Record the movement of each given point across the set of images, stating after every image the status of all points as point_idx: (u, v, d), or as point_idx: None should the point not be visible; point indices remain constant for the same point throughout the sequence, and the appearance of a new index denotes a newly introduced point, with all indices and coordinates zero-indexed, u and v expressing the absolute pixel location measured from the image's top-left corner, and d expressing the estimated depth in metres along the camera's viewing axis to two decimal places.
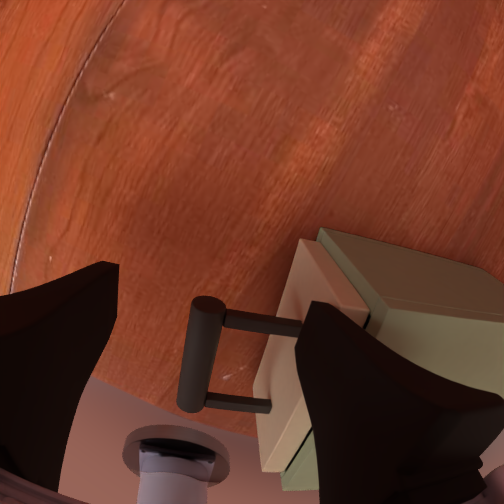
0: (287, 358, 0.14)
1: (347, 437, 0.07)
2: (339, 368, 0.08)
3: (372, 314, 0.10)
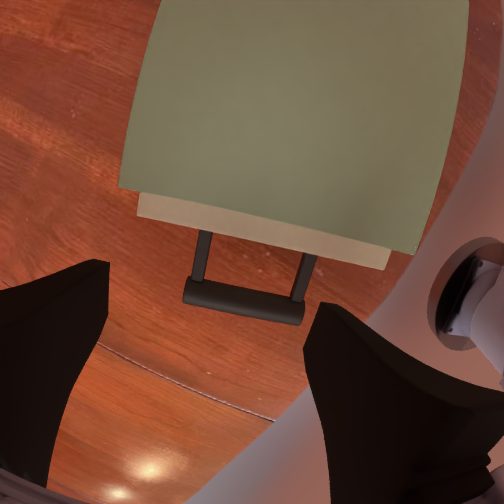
0: None
1: (359, 436, 0.07)
2: (350, 369, 0.08)
3: None
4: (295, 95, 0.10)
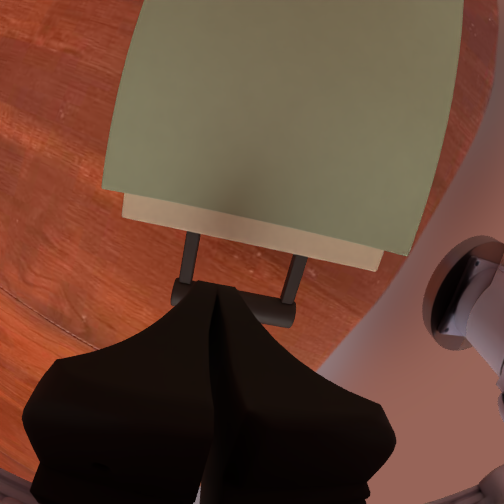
0: None
1: None
2: (218, 355, 0.07)
3: None
4: (282, 91, 0.09)
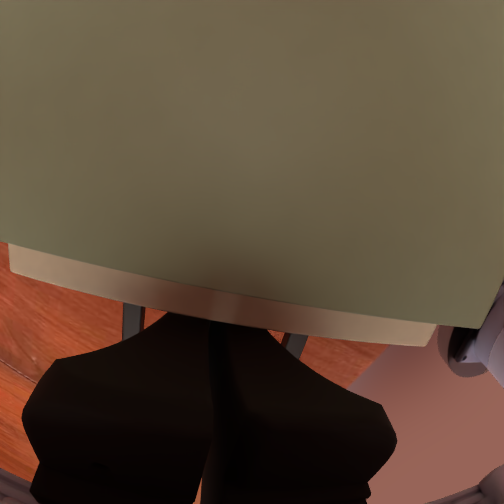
0: None
1: (213, 431, 0.06)
2: (219, 355, 0.07)
3: None
4: (280, 20, 0.04)
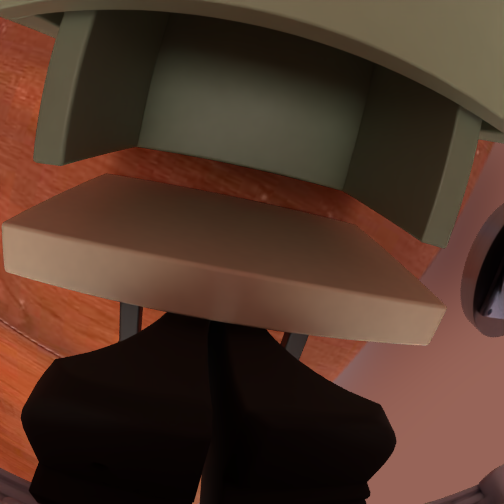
0: None
1: (212, 431, 0.06)
2: (218, 355, 0.07)
3: (29, 15, 0.04)
4: None
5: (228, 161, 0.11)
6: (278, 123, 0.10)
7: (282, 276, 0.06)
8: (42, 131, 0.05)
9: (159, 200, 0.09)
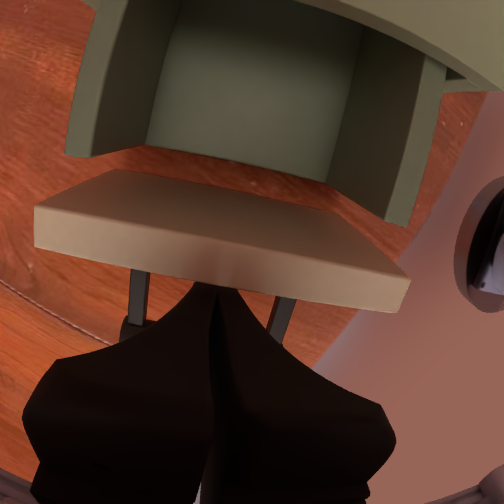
0: None
1: None
2: (218, 355, 0.07)
3: None
4: None
5: (224, 158, 0.12)
6: (268, 124, 0.12)
7: (266, 247, 0.08)
8: (73, 130, 0.06)
9: (164, 190, 0.11)
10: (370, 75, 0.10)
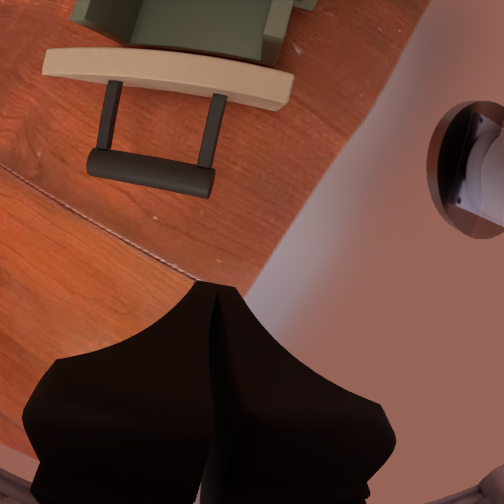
0: (152, 84, 0.13)
1: None
2: (218, 354, 0.07)
3: None
4: None
5: (184, 47, 0.15)
6: (215, 23, 0.14)
7: (178, 52, 0.10)
8: (77, 6, 0.09)
9: None
10: None
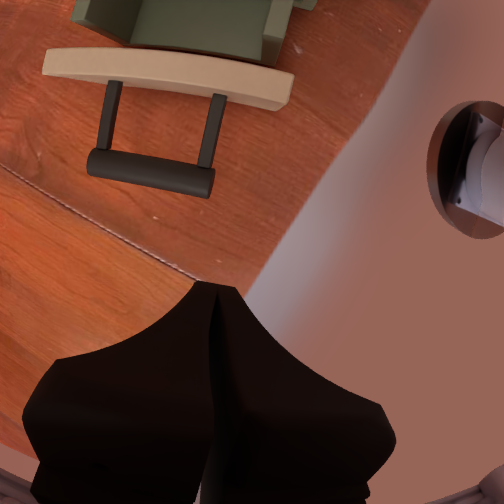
0: (152, 84, 0.13)
1: None
2: (218, 354, 0.07)
3: None
4: None
5: (184, 47, 0.15)
6: (215, 23, 0.14)
7: (178, 52, 0.10)
8: (77, 6, 0.09)
9: None
10: None
